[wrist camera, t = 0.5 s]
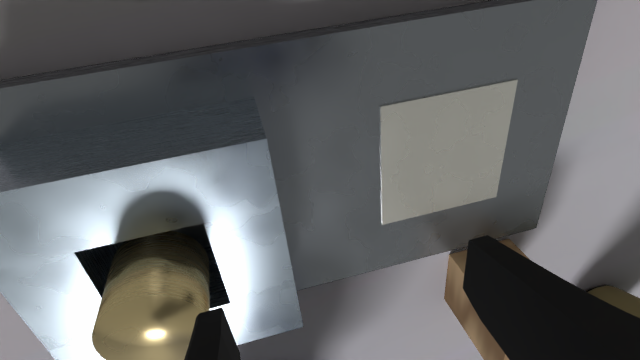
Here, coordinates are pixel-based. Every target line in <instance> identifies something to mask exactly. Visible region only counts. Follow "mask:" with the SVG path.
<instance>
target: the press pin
mask: <svg viewBox="0 0 640 360" xmlns="http://www.w3.org/2000/svg"><path fill="white" fill-rule="evenodd" d="M209 310H210V290H209V258H208V255H207V252H206V250H205V249H204V247H203V246H202V245H201V244H200V243H199V242H198V241H196V240H195V239H193V238H192V237H190V236H188V235H185V234H183V233H179V232H175V231H167V232H162V233H158V234H153V235H149V236H145V237H140V238H136V239H132V240H127V241H125V242H124V243H123V244H122V245H121V246H120V247H119V248H118V249H117V251H116V253H115V254H114V257H113V260H112V263H111V267H110V271H109V274H108V278H107V281H106V285H105V288H104V292H103V296H102V299H101V303H100V306H99V310H98V313H97V317H96V321H95V324H94V328H93V331H92V343H93V346H94V348H95V350H96V351H97V352H98V354H99V355H100V356H101V357H103V358H104V359H105V360H184V359H185V355H186V352H187V349H188V346H189V342H190V339H191V335H192V332H193V328H194V324H195V320H196V317H197V316H198V314H199V313H202V312H206V311H209Z"/></svg>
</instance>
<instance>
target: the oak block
mask: <svg viewBox="0 0 640 360" xmlns="http://www.w3.org/2000/svg"><path fill="white" fill-rule="evenodd" d="M499 242H501V243H502V244H504V245H506V246H507V247H509V248H511V249H512V250H514V251H516V252H517V253H519V254H521V255H522V256H524V257H526V258H527V259H529V258H528V257H527V256H526V255H525V254H524V253H523V252H522V251H521V250H520V249H519V248H518V247H517V246H516V245H515V244H514V243H513V242H512V241H511V240H510V239H505V240H502V241H499ZM466 257H467V250H464V251H460V252H456V253H452V254H449V261H448V269H447V278H446V287H445V296H444V299H445V301H446V302H447V304H448V305H449V307H450V308H451V310H452V311H453V313H454V314H455V316H456V317H457V319H458V321H459V322H460V324H461V325H462V327H463V328H464V330H465V331H466V333H467V334H468V336H469V337H470V339H471V340H472V342H473V344H474V345H475V347H476V348H477V350H478V351H479V353H480V354H481V356H482V357H483V359H484V360H509V358H508V357H507V356H506V354H505V353H504V352H503V350H502V349H501V348H500V346H499V345H498V343H497V342H496V341H495V339H494V338H493V337H492V335H491V334H490V332H489V331H488V330H487V328H486V327H485V325H484V324H483V323H482V321H481V320H480V318H479V317H478V315H477V313H476V311H475V310H474V308H473V306H472V304H471V303H470V301H469V299H468V297H467V295H466V293H465V292H464V290H463V281H464V273H465V265H466ZM529 260H530V259H529Z"/></svg>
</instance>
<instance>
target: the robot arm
mask: <svg viewBox="0 0 640 360" xmlns="http://www.w3.org/2000/svg"><path fill="white" fill-rule="evenodd" d="M463 290H464V292H465V293H466V295H467V297H468V299H469V301H470V303H471V304H472V306H473V308H474V310H475V311H476V313H477V315H478V317H479V318H480V320H481V321H482V323H483V324H484V325H485V327H486V328H487V330H488V331H489V332H490V334H491V335H492V337H493V338H494V339H495V341H496V342H497V343H498V345H499V346H500V348H501V349H502V350H503V352H504V353H505V354H506V356H507V357H508V358H509V360H640V318H639V317H636V316H634V315H632V314H630V313H627V312H625V311H623V310H621V309H619V308H617V307H615V306H613V305H611V304H609V303H607V302H605V301H603V300H601V299H599V298H597V297H595V296H593V295H591V294H589V293H588V292H586V291H584V290H582V289H580V288H578V287H576V286H575V285H573V284H571V283H569V282H567V281H565V280H564V279H562V278H560V277H558V276H557V275H555V274H553V273H551V272H550V271H548V270H546V269H544V268H543V267H541V266H539V265H538V264H536V263H534V262H532V261H531V260H529V259H527V258H526V257H524V256H522V255H521V254H519V253H517V252H516V251H514V250H512V249H511V248H509V247H507V246H506V245H504V244H502V243H501V242H499V241H497V240H495V239H494V238H492V237H490V236H488V235H486V236H482V237H478V238H475V239H471V240H469V241H468V249H467V257H466V265H465V273H464V281H463ZM184 360H241V359H240V352H239V350H238V347H237V345H236V342H235V339H234V337H233V334H232V331H231V329H230V326H229V324H228V321H227V318H226V316H225V313H224V310H223V308H222V307H220V308H217V309H213V310H209V311H206V312H202V313H199V314H198V316H197V317H196V320H195V324H194V328H193V332H192V335H191V339H190V342H189V346H188V349H187V352H186V355H185V359H184Z"/></svg>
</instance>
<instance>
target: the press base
mask: <svg viewBox="0 0 640 360" xmlns="http://www.w3.org/2000/svg"><path fill="white" fill-rule="evenodd" d="M596 3H597V0H492V1H486V2H479V3H473V4H467V5H461V6H455V7H449V8H442V9H436V10H430V11H424V12H418V13H412V14H405V15H399V16H393V17H387V18H381V19H375V20H368V21H362V22H356V23H350V24H344V25H338V26H331V27H325V28H319V29H313V30H307V31H301V32H294V33H288V34H282V35H276V36H270V37H264V38H257V39H251V40H245V41H239V42H233V43H227V44H220V45H214V46H208V47H202V48H196V49H190V50H183V51H177V52H171V53H165V54H159V55H153V56H146V57H140V58H134V59H128V60H122V61H116V62H109V63H103V64H97V65H91V66H85V67H79V68H72V69H66V70H60V71H54V72H48V73H42V74H35V75H29V76H23V77H17V78H11V79H5V80H0V292H1V294H2V295H3V296H4V297H5V298H6V300H7V301H8V302H9V303H10V305H11V306H12V307H13V308H14V310H15V311H16V312H17V313H18V314H19V316H20V317H21V318H22V319H23V321H24V322H25V323H26V324H27V326H28V327H29V328H30V329H31V330H32V332H33V333H34V334H35V335H36V337H37V338H38V339H39V340H40V342H41V343H42V344H43V345H44V346H45V348H46V349H47V350H48V351H49V353H50V354H51V355H52V356H53V358H54V359H55V360H105V359H104V358H103V357H101V356H100V355H99V354H98V352H97V351H96V350H95V348H94V346H93V343H92V331H93V328H94V324H95V321H96V317H97V313H98V310H99V306H100V303H101V299H102V296H103V292H104V288H105V285H106V281H107V278H108V274H109V271H110V267H111V263H112V260H113V257H114V254H115V253H116V251H117V249H118V248H119V247H120V246H121V245H122V244H123V243H124V242H125V241H127V240H132V239H136V238H140V237H145V236H149V235H153V234H158V233H162V232H167V231H175V232H179V233H183V234H185V235H188V236H190V237H192V238H193V239H195V240H196V241H198V242H199V243H200V244H201V245H202V246H203V247H204V249H205V250H206V252H207V255H208V258H209V290H210V310H213V309H217V308H220V307H222V308H223V310H224V313H225V316H226V318H227V321H228V324H229V326H230V329H231V331H232V334H233V337H234V339H235V342H236V345H240V344H243V343H247V342H251V341H254V340H258V339H261V338H265V337H269V336H272V335H276V334H280V333H283V332H287V331H290V330H294V329H298V328H301V327H303V322H302V317H301V312H300V307H299V301H298V296H297V291H298V290H302V289H306V288H309V287H313V286H317V285H321V284H325V283H328V282H332V281H336V280H340V279H344V278H347V277H351V276H355V275H359V274H363V273H366V272H370V271H374V270H378V269H382V268H386V267H389V266H393V265H397V264H401V263H405V262H408V261H412V260H416V259H420V258H424V257H427V256H431V255H435V254H439V253H443V252H446V251H450V250H454V249H458V248H462V247H466V246H468V241H469V240H471V239H475V238H478V237H482V236H486V235H488V236H490V237H492V238H494V239H496V238H500V237H504V236H507V235H511V234H515V233H519V232H523V231H526V230H530V229H534V228H536V227H537V223H538V220H539V216H540V212H541V208H542V205H543V201H544V197H545V193H546V190H547V186H548V182H549V178H550V175H551V171H552V167H553V164H554V160H555V156H556V152H557V149H558V145H559V141H560V137H561V134H562V130H563V126H564V123H565V119H566V115H567V111H568V108H569V104H570V100H571V96H572V93H573V89H574V85H575V82H576V78H577V74H578V70H579V67H580V63H581V59H582V55H583V52H584V48H585V44H586V40H587V37H588V33H589V29H590V26H591V22H592V18H593V14H594V11H595V7H596Z"/></svg>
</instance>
